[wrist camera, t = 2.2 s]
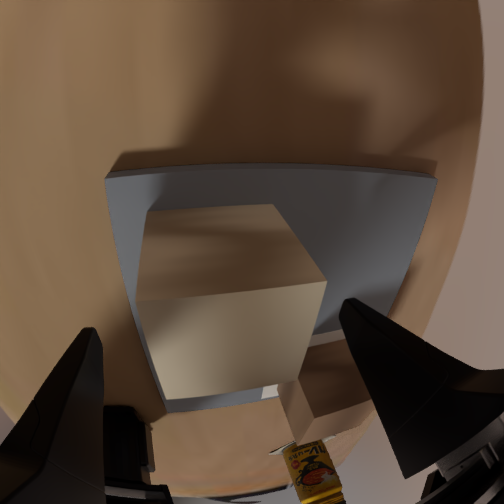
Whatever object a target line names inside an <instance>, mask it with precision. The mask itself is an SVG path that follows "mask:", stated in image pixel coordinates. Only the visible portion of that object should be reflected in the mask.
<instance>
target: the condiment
mask: <svg viewBox="0 0 504 504" xmlns="http://www.w3.org/2000/svg"><path fill="white" fill-rule="evenodd" d="M334 437H336V436H329V437H326V438H323V439H319V440H316V441H313V442H310V443H306V444H303V445H299V446H297V444H296V441H294V442H292V443H290V444H288V445H286V446H284V447H282V448H280V449H278V450H277V451H275V452H273V453H270V455H271V454H276V455H278V454H280V455H283V456H284V459H285V462H286V465H287V468H288V470H289V473H290V476H291V479H292V481H293V484H294V487H295V489H296V492H297V495H298V497H299V500H300V502H301V503H303V504H346V501H345V500H344V498H343V493H342V492H341V490H342V484H341V482H340V480H339V476H338V475H337V472H336V470H335V467H334V465H333V462H332V460H331V458H330V456H329V453H328V451H327V449H326V447H325V445H324V442H326V441H328V440H329V439H332V438H334Z"/></svg>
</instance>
